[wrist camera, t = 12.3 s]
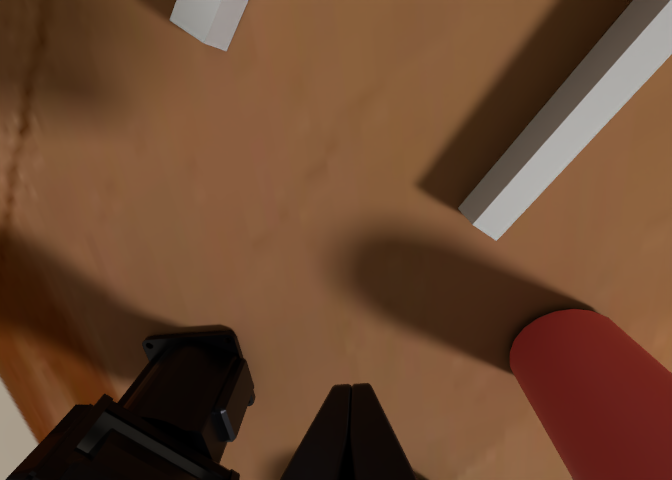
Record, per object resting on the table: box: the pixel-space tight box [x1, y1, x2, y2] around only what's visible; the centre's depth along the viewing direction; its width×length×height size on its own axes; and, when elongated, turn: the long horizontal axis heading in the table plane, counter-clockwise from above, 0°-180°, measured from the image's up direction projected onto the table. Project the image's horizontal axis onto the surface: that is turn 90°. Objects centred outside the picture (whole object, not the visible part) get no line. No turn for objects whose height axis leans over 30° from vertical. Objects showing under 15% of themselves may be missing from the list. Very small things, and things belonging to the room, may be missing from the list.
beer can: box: [510, 309, 672, 480], centre depth 16 cm, size 7×7×12 cm
